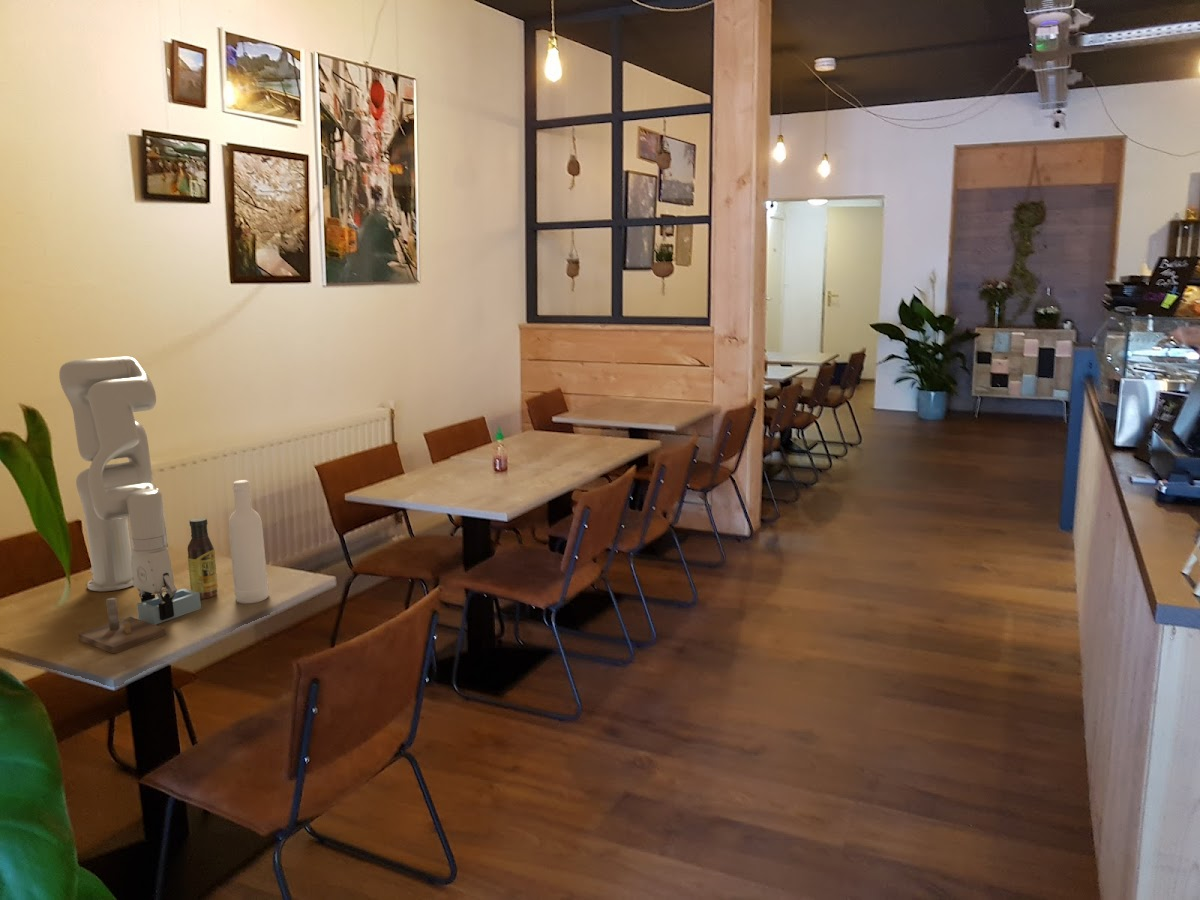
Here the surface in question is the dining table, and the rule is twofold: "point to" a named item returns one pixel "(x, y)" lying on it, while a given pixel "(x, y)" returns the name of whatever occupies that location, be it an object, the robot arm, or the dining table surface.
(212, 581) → the sauce bottle
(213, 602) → the dining table surface
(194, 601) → the hollow blue brick
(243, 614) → the dining table surface
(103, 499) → the robot arm
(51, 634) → the dining table surface
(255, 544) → the bottle
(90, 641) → the post block
